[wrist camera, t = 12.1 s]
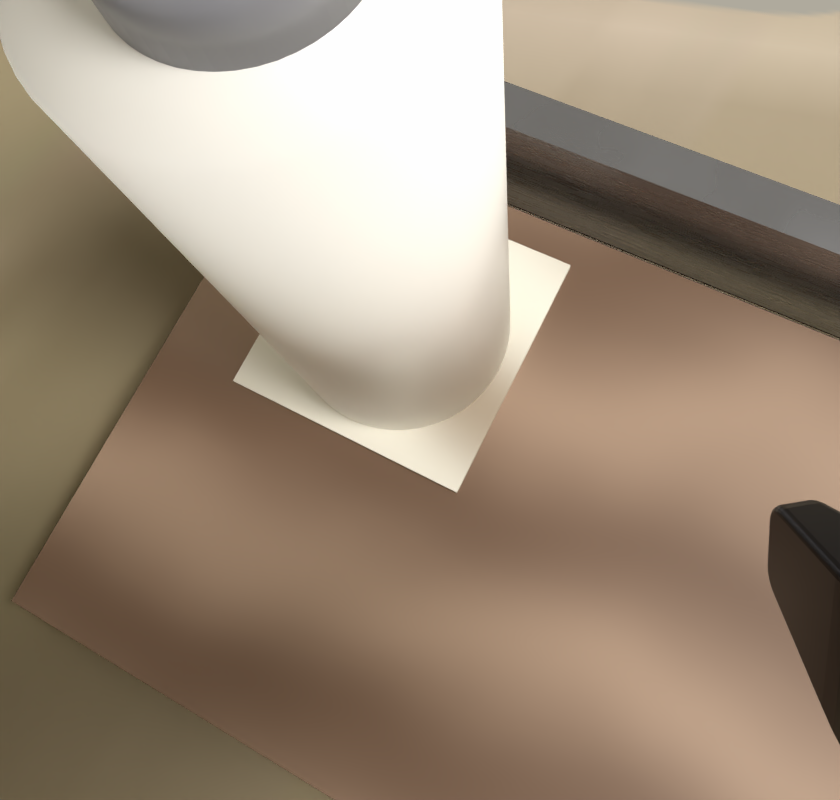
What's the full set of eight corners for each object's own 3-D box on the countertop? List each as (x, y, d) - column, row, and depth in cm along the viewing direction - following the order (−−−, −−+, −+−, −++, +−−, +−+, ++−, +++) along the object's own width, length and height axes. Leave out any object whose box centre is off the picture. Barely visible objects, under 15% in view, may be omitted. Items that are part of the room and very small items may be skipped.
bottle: (449, 468, 20) (308, 193, 7) (257, 374, 22) (-192, -18, 8) (548, 270, 21) (605, -322, 8) (359, 192, 23) (118, -431, 9)
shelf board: (1701, 1609, 14) (1852, 1737, 13) (43, 600, 22) (7, 600, 21) (1832, 777, 17) (1971, 795, 15) (308, 147, 25) (295, 117, 23)
